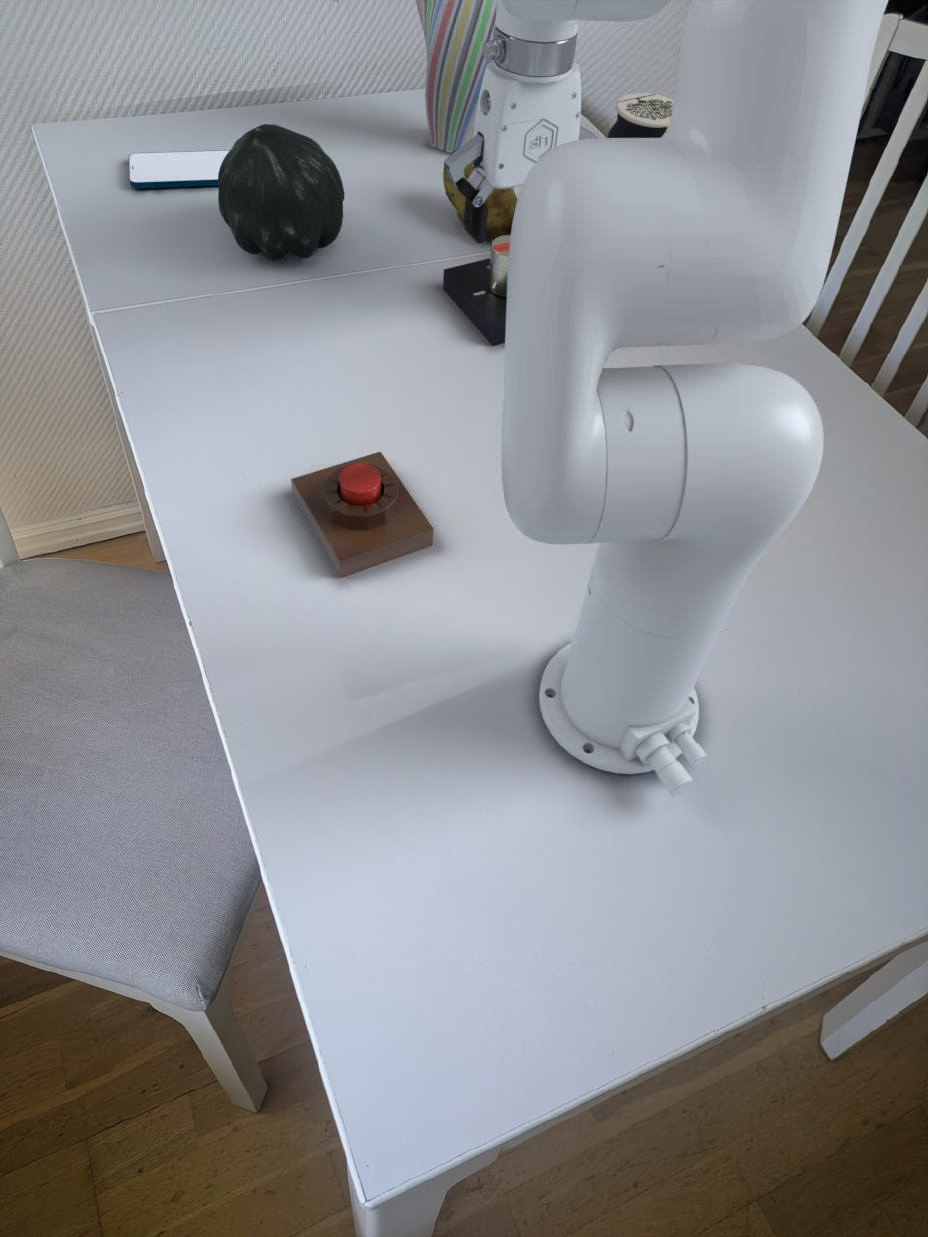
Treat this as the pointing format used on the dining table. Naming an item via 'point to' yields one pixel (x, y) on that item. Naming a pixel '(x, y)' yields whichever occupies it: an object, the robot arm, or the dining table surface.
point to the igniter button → (360, 485)
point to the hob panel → (477, 298)
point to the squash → (280, 193)
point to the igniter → (362, 518)
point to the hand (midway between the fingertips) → (514, 228)
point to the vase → (454, 65)
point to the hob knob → (499, 265)
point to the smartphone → (175, 168)
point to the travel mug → (642, 116)
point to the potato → (497, 202)
